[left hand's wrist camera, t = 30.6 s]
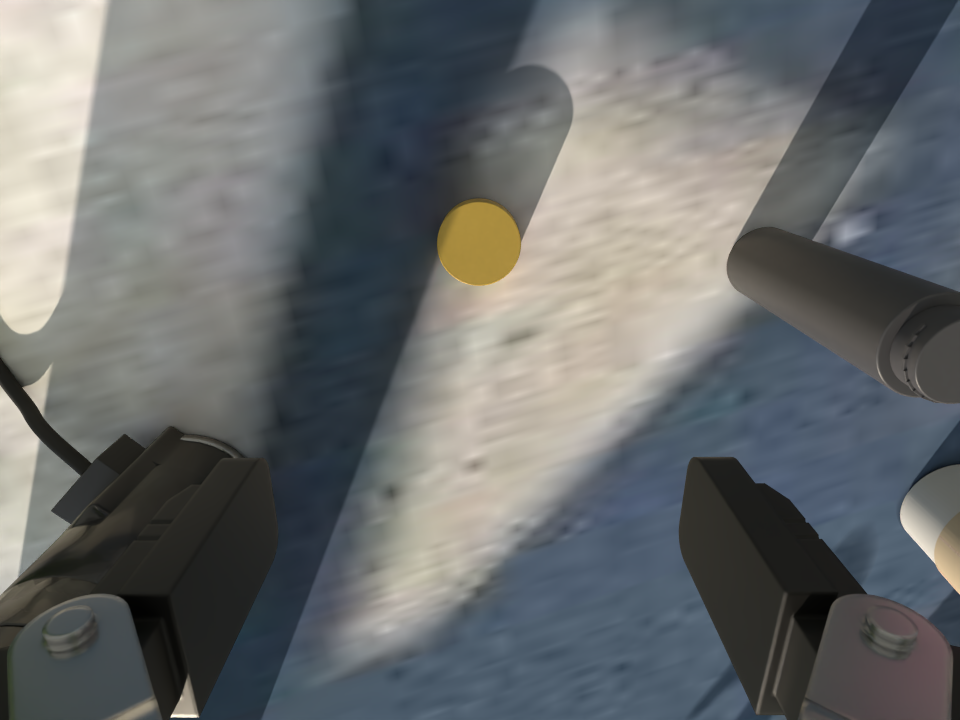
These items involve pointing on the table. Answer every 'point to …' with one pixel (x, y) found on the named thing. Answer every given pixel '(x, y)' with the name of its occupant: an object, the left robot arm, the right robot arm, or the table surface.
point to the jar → (856, 310)
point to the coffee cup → (936, 519)
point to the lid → (479, 242)
